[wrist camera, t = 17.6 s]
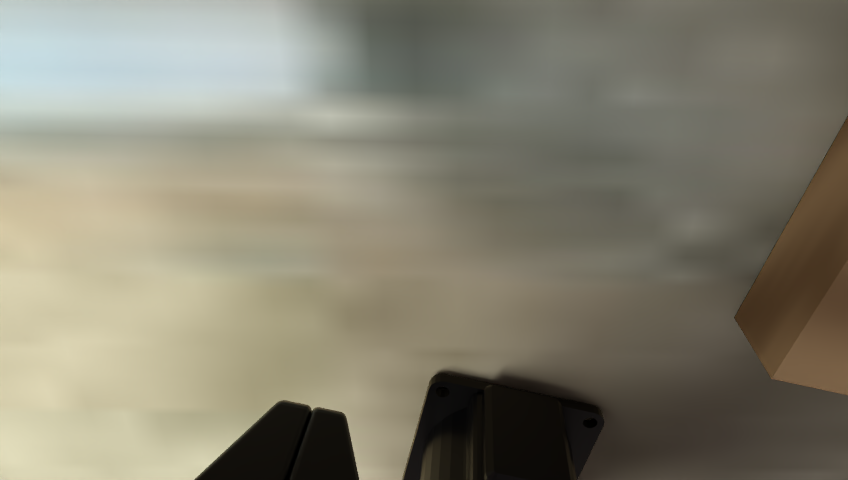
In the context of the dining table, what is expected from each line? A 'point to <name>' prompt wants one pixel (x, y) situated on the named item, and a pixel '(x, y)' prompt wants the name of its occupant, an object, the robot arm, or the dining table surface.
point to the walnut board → (807, 286)
